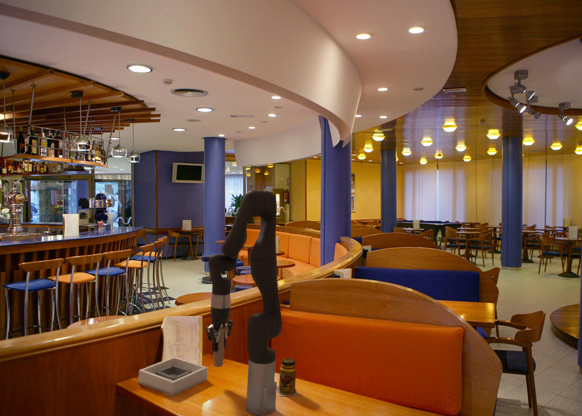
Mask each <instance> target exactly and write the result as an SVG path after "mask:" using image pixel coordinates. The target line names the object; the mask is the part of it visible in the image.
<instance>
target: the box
mask: <svg viewBox="0 0 582 416" xmlns="http://www.w3.org/2000/svg"><path fill="white" fill-rule="evenodd" d="M208 369H209V368H208V366H204V365H201V364H198V363H195V362H192V361H189V360H185V359H182V358H179V357H176V356H173V357H171V358H168V359H165V360H163V361H159V362H157V363H154V364H152V365H149V366H146V367H145V368H141V369H139V370H138V381H137V382H138V384H140V385H141V386H144V387H147V388H150V389H151V390H155V391H157V392H160V393H163V394H165V395H168V396H171V397H175V396H177V395H180V394H181V393H183V392H185V391H187V390H190V389H191V388H193V387H195V386H198V385H199V384H201V383H204V382H206V381H207V380H208Z"/></svg>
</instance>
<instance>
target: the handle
mask: <svg viewBox="0 0 582 416" xmlns="http://www.w3.org/2000/svg"><path fill="white" fill-rule="evenodd" d="M227 331H228V326H227V327H222V329H220V333H221V335H220V336H219V339H218V351H217V352H214V351H213V362H214V363H213V365H214V367H216V368H219V367H222V366H223V365H224V356H225V349H224V333H225V332H227ZM214 333H218V332H217V331H215V330H214ZM227 333H228V332H227ZM215 339H216V335H215Z"/></svg>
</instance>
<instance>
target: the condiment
mask: <svg viewBox="0 0 582 416" xmlns="http://www.w3.org/2000/svg"><path fill="white" fill-rule="evenodd" d="M296 374H297V368H296V360H295V359H293V358H291V357H290V358H288V357H287V358H283V359H281V365H280V368H279V380H278V381H279V382H278V386H277V388H276V393H278V395H279V397H289V396H291V397H292V396H297V395H300V393H299V392H298V391H297V390H296V389H297V388H296V380H297V379H296V377H297V375H296Z"/></svg>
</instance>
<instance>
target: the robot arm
mask: <svg viewBox="0 0 582 416" xmlns="http://www.w3.org/2000/svg"><path fill="white" fill-rule="evenodd" d="M277 208H278V204H277V198H276V195H275V194H274V192H272V191H269V190H258V189H257V190H256V189H255V190H254V189H252V190H249V191H246V193H245V194H244V195H243V198H242V200H241V202H240V205H239V208H238V210H237V213H236V216H235V219H234V221H233V225H232V227H231V228H230V231H229V233H228V235H227V236H226V238H225V239H224V241H223V243H222V245H221V249H220V250H221V251H222V253H214V254H211V256H210V257H209V259H208V261H207V264H208V265H207V266H208V270H209V274H210V277H211V278H210V279H211V284H212V285H211V297H210V299H211V300H210V319H211V323H210V325H208V326H206V327H205V332H206V335H207V340H208V342H212V343H211V350H212V352H213V353H214V352H217V351H218V339H219V336H220V335H221V333H220V329H222V327H227V326H228V331H227V332H225V333H224V350H225V349H226V346H227V339H228V337H230V336H231V334H232V330H233V324H234V320H232V319H231V320H230V319H229V318H230V317H231V306H232V305H231V304H232V303H231V302H232V301H231V300H232V299H231V279H230V278H228V277H223V276H222V273H227V272H232V271H233V270H234V269H235V268H236V266H237V264H238V259H239V255H240V253H241V251H242V250H243V248H244V246H245V244H246V242H247V239H248V231H247V225H248V224H249V222H250V221H251V219H253V218H255V217H256V218H260V230H259V233H258V236H257V238H256V241H255V243H254V244H253V246H252V248H251V252H250V256H249V259H250V261H249V262H250V275H251V277H252V280H253V282H254V283H255V285H256V287H257V290H259V293H260V296H261V299H262V309H263V310H262V311H261V312H258V313H254V314H252V315H251V316H250V317H249V318H248V320H247V321H248V322H247V324H246V325H247V326H246V327H247V328H246V347H247V348H246V349H247V353H248V363H247V364H248V366H247V368H248V369H247V370H248V371H247V382H246V402H245V403H246V405H245V409H246V412H248V413H249V414H251V415H254V416H268V415H269V414H272V412H274V411H276V403H277V401H276V400H277V390H276V388H277V385H278V383H277V381H275V376H276V359H277V356H276V355H277V353H276V350H274V349H273V348H271V347H268V340H271V339H273V338H276V337H279V335H280V334H281V332H282V328H283V318H282V310H281V303H280V295H279V283H278V259H277V258H278V257H277V238H276V237H277V234H276V232H277V213H278V212H277V211H278V209H277ZM214 330H215V331H217V332H218V333H214ZM215 335H216V339H215Z"/></svg>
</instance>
